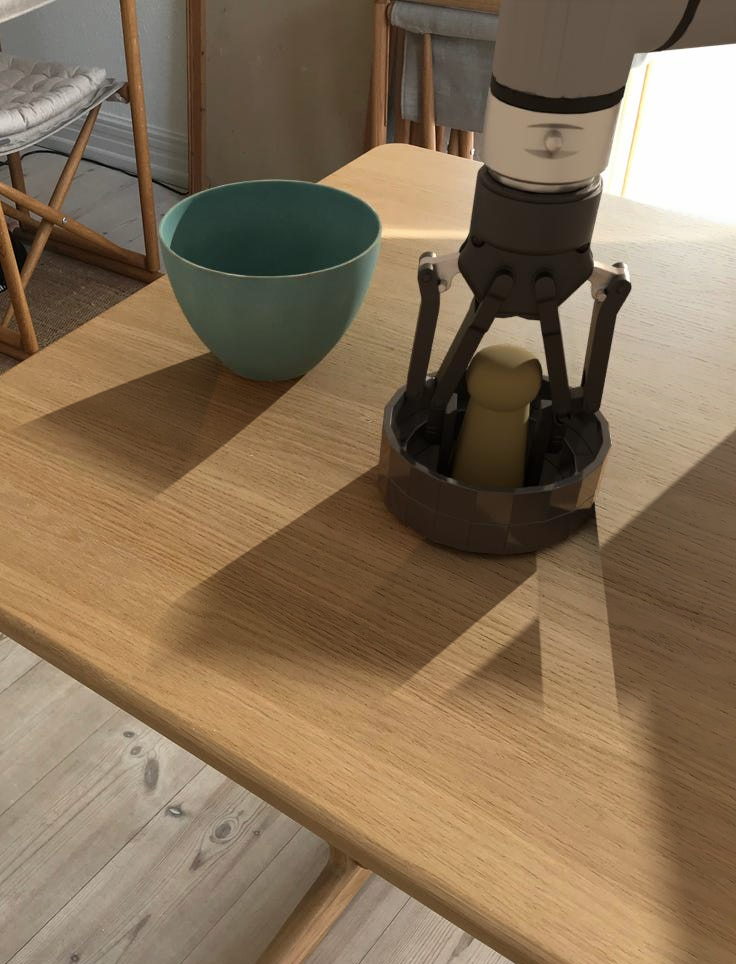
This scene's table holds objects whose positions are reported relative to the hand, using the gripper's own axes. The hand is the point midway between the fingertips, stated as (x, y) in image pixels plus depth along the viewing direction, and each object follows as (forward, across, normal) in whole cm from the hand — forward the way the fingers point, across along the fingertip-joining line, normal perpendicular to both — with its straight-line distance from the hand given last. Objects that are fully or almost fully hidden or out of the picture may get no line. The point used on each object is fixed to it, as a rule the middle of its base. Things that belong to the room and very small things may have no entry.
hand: (485, 480), depth 79 cm
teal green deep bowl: (+1, -19, +17) cm, 26 cm away
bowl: (+1, 0, 0) cm, 1 cm away
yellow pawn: (+1, 0, 0) cm, 1 cm away
